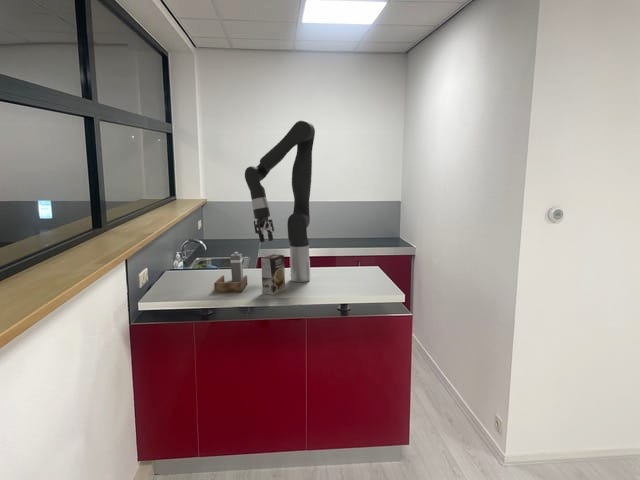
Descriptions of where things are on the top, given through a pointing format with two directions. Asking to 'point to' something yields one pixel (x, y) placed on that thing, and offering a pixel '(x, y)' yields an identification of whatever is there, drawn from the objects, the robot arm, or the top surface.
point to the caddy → (230, 285)
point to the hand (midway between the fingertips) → (266, 241)
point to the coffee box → (273, 274)
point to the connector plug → (236, 267)
